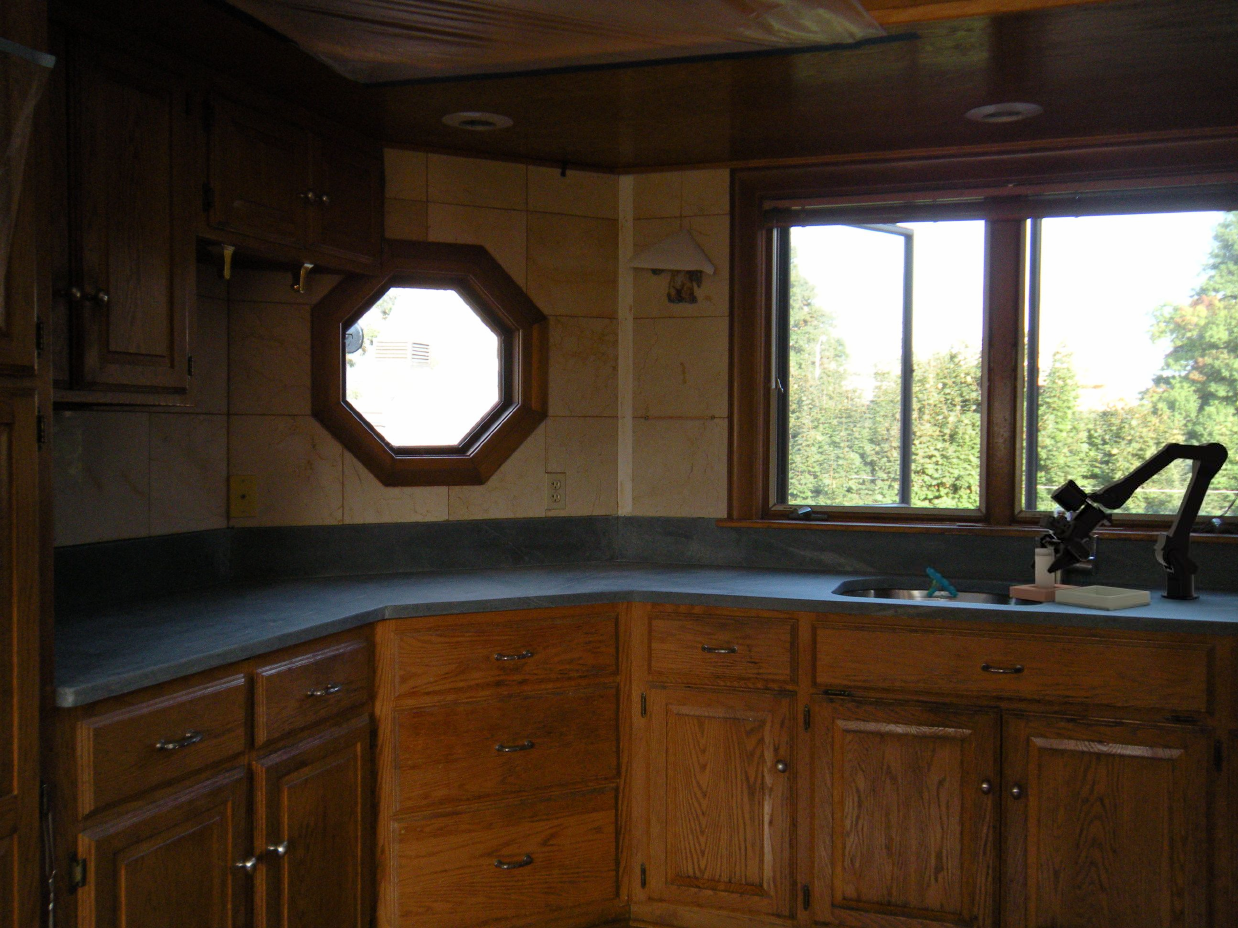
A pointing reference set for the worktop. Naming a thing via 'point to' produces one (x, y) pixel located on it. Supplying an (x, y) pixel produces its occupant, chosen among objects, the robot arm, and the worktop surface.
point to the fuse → (1043, 568)
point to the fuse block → (1037, 592)
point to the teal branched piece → (939, 584)
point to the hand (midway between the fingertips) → (1039, 570)
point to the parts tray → (1102, 597)
